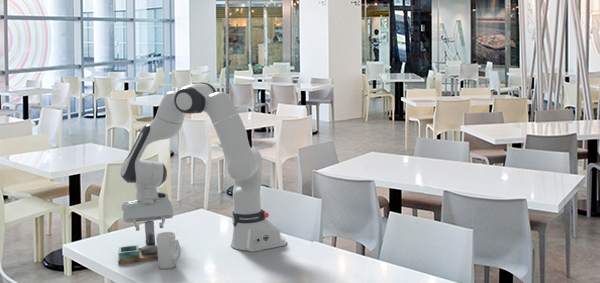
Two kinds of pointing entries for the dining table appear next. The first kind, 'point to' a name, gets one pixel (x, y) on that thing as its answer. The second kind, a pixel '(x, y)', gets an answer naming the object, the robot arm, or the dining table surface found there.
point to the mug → (167, 250)
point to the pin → (149, 233)
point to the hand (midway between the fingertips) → (149, 228)
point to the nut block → (137, 254)
